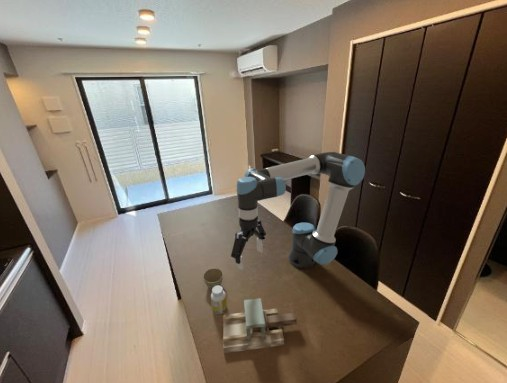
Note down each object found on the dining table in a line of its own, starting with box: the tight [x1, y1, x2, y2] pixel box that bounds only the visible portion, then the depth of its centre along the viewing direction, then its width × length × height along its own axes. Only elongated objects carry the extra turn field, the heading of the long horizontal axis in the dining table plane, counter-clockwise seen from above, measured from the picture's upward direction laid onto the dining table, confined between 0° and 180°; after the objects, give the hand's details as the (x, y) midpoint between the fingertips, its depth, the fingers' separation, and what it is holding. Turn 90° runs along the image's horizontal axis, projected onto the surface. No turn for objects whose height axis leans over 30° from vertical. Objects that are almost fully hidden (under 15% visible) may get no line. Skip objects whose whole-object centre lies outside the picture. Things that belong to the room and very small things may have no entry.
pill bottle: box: [210, 285, 228, 315], centre depth 101 cm, size 6×6×12 cm
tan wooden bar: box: [252, 311, 298, 332], centre depth 92 cm, size 18×5×5 cm, turn 97°
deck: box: [222, 297, 285, 354], centre depth 91 cm, size 23×14×12 cm, turn 97°
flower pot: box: [202, 268, 224, 290], centre depth 115 cm, size 10×10×7 cm
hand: (250, 259), depth 97 cm, fingers open, 13 cm apart
